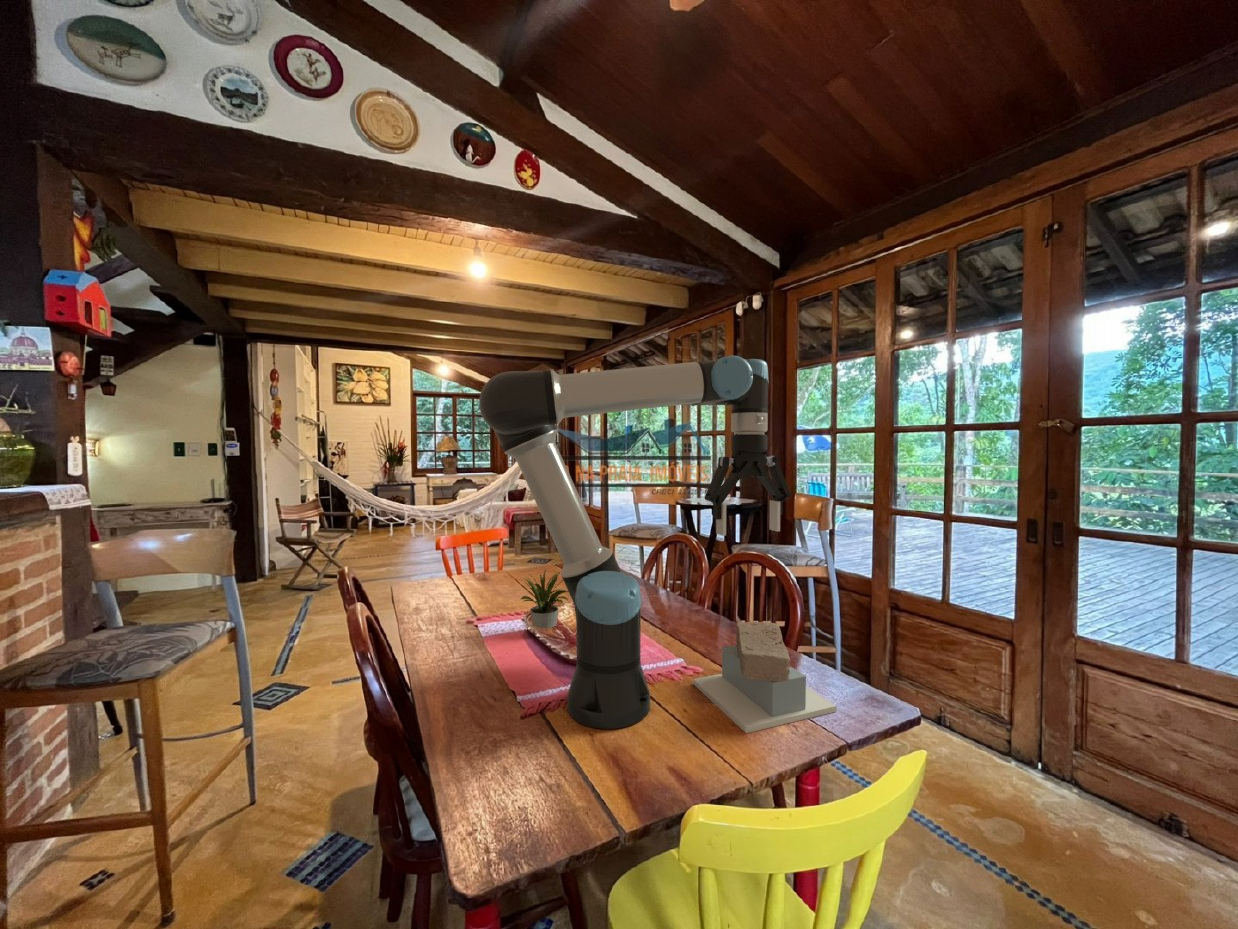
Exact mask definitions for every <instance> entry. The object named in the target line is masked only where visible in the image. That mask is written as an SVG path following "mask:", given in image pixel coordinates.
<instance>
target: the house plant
mask: <svg viewBox="0 0 1238 929" xmlns="http://www.w3.org/2000/svg"><path fill="white" fill-rule="evenodd" d="M546 572H547V568H545V570H544V572H543V575H542V574H541V573H540V574H539V578H540V580H539V581H540V584H539V583H538V582H537V581H536V578H535V577H534V576H532V575H530V574H529V576H530V577H532V579H533V580H534V583H533V581H531V579H530V578H529V577H527V576H525V577H523V579H524V580H525V581H524V583H525V584H526V585H527V586H528V588H527V589H530V591H531V592H532V593H533V595H534V597H535V600H534V599H533V598H532V597H530V596H528V595H524V596H522V597H521V598H520V600H519V601H521V600H523V602H533V603H534V604H535V605H534V606H532V607H531V608H530V610H529V611H530V616H531V617H530V618H531V623H532V627H533V626H536V627H539V628H546V629H547V628H552V627H554V626H556V627H557V624H558V617H559V610H560V609H559V607H558V606H556V605H554V604H556V603H561V604H564V602H563V600H562V599H564V600H565V601H567V602H569V599H568V598H567V597H566V596H563V595H562V596H560V595H561V594H564V593H567V592H568V593H569V591H568V590H566V589H562V588H560V589H557V588H558V586H559V585H561V583H562V582H564V580H563V579H562V580H561V581H559V582H558V583H556V582H557V581H558V577H559V575H561V571H559V572H557V573H556V572H555V574H554V575H552V577H551V578H550V579H549V580H548V582H547V584H546ZM517 580H519V581H521V579H520V578H517ZM553 588H554V589H553Z"/></svg>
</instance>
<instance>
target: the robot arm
mask: <svg viewBox="0 0 1238 929" xmlns="http://www.w3.org/2000/svg"><path fill="white" fill-rule="evenodd" d="M769 383H770V381H769V368H768V363H767V361H765V360H763V359H758V358H757V359H756V358H749V359H744V358H743V357H741V356H738V355H729V356H722V357H720V358H718V359H714V360H703V361H702V360H701V361H692V362H691V361H690V362H682V363H681V362H680V363H670V364H660V365H649V366H647V365H646V366H639V367H631V368H630V367H629V368H619V369H618V368H617V369H606V370H597V371H596V370H595V371H586V372H585V371H584V372H575V373H567V374H559V373H557V372H556V371H555V370H553V369H544V370H543V369H542V370H523V371H522V370H520V371H519V370H517V371H516V370H515V371H513V370H512V371H511V370H510V371H504V372H500V373H498V374H495V375H493V377H491V378H490V379H488V380H487V382H485V384H484V386H483V387H482V389H481V391H480V394H479V400H478V405H479V406H478V407H479V411H480V414H481V417H482V418H483V420H484V422H485V423H486V424H487V425H488V426H489V427H490V428H491V429H492V430H493V431H494V434H495V436H496V438H497V439H498V442H499V444H500V446H501V449H502V451H503V453H504V455H508V456H510V457H512V458H514V459H515V461H516V463H517V465H518V467H519V469H520V472H521V474H522V476H523V478H524V480H525V483H526V484H527V486H528V488H529V491H530V493H531V495H532V498H533V499H534V502H535V504H536V506H537V508H538V511H539V513H540V515H541V517H542V519H543V521H544V523H545V526H546V528H547V530H548V532H549V535H550V536H551V539H552V541H553V543H554V545H555V547H556V550H557V551H558V553H559V556H560V558H561V560H562V562H563V567H562V568H561V571H560V576H561V578H562V580H564V581H563V583H564V585H565V587H566V588H567V591H569V592H568V594H569V596H570V598H571V600H572V602H573V605H574V611H575V613H574V614H575V621H576V622H575V624H576V626H575V628H576V629H575V630H576V667H575V669H574V673H573V676H572V679H571V681H570V682H571V683H570V686H569V688H568V693H567V695H566V696H567V697H566V700H567V702H566V703H567V705H566V707H567V712H568V714H569V716H570V717H571V719H573V720H574V721H576V722H577V723H578V724H581V725H584V726H586V727H590V728H593V729H600V730H601V729H602V730H604V729H605V730H612V729H613V730H614V729H621V728H626V727H629V726H633V725H635V724H637V723H639V722H641V721H642V720H643V719H645V718H646V717H647V716H648V714H649V713H650V711H651V692H650V690H649V687H648V684H647V683H648V682H647V680H646V678H645V674H644V671H643V668H642V663H641V652H642V651H641V650H642V649H641V634H642V633H641V628H642V627H641V624H642V623H641V620H642V619H641V607H642V602H643V601H642V600H643V599H642V595H641V587H640V585H639V582H638V581H637V579H635V578H634V577H633V576H631V575H629V574H625V573H624V572H622V570H621V567H620V565H619V563H618V561H617V559H616V556H615V555H614V552H613V550H612V549H611V548H609V547H605V546H603V545H602V543H601V541H600V539H599V536H598V534H597V532H596V530H595V527H594V526H593V523H592V521H591V519H590V517H589V514H588V512H587V510H586V508H585V505H584V503H583V502H582V498H581V497H580V495H579V492H578V490H577V488H576V485H575V484H574V481H573V479H572V477H571V474H570V473H569V471H568V468H567V466H566V464H565V462H564V459H563V456H562V455H561V453H560V451H559V447H558V446H557V444H556V441H555V440H556V437H557V434H558V431H559V430H558V428H557V426H556V425H559V424H560V423H561V422H562V420H564V419H567V418H573V417H583V416H584V417H585V416H591V415H592V416H593V415H601V414H610V413H618V412H628V411H629V412H630V411H639V410H645V409H647V410H648V409H654V408H664V407H665V408H666V407H673V406H692V407H694V406H726V407H727V406H730V407H731V410H730V414H731V415H730V416H731V417H730V418H731V420H730V421H731V422H730V424H731V425H730V427H731V428H730V432H731V433H733V434H732V436H731V437H730V440H731V441H730V450H731V453H732V455H731V457H729V456H718V459H717V467H716V470H715V472H714V475H713V477H712V479H711V481H710V484H709V485H708V488H707V490H706V492H705V494H704V500H705V501H708V502H710V503H712V508H713V509H712V517H713V519H715V533H716V535H719V536H722V537H724V536H727V504H726V503H724V501H725V500H726V499H727V497H728V496H729V494H731V492H732V491H733V489H734V488H735V487H736V485H737V484H738V482H739V481H740V480H741V479H742V478H757V479H758V480H759V481H760V482H761V485H762V486H763V487H764V488H765V490H766V491H767V492H768V494H769V495H770V497H771V498H772V500H771V499H769V517H768V518H769V520H768V521H769V522H768V523H769V526H768V527H769V531H770V530H771V531H775V532H776V533H777V532H781V516H782V515H783V513H784V512H783V511H784V510H783V509H784V508H783V506H784V502H786V501H787V499H789V498H791V496H792V494H791V491H790V488H789V486H788V483H787V481H786V479H785V477H784V474H783V471H782V468H781V467H780V466H781V465H780V457H779V456H777V455H768V456H767V454H766V453H767V451H768V435H767V434H765V433H767V431H768V430H769V429H768V425H769V424H768V423H769V422H768V415H769V414H768V412H769V410H768V403H769V400H768V399H769V398H768V397H769ZM766 466H767V467H768V470H767V468H766ZM730 467H732V469H731V470H730V471H729V468H730ZM728 471H729V473H728ZM768 471H769V472H768ZM727 474H728V475H727ZM726 476H728V477H727V478H726ZM724 480H725V481H724Z"/></svg>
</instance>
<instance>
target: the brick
mask: <svg viewBox="0 0 1238 929" xmlns="http://www.w3.org/2000/svg"><path fill="white" fill-rule="evenodd" d="M735 641H736V645H737V646H738V648H737V650H738V653H739V659H740V669H741V672H742V675H743V676H744V677H745V678H747V679H753V680H767V681H778V682H783V681H788V680H789V674H790V669H789V668H790V667H791V658H790V654H789V650H788V649H787V647H786V645H785V643H784V640H783V635H782V631H781V628H780V626H779V624H778V623H774V622H768V621H763V622H762V621H759V622H757V621H753V622H751V621H750V622H749V621H746V622H742V621H741V622H740V621H738V622H737V623H736V640H735Z"/></svg>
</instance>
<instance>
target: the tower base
mask: <svg viewBox="0 0 1238 929" xmlns="http://www.w3.org/2000/svg"><path fill="white" fill-rule="evenodd" d="M721 648H722V649H721V673H719V674H713V675H708V676H703V677H697V678H693V679H692V680H693V681H692V684H693V685H694V686H695V687H696V688H697V689H698V690H699V691H700V692H701V693H702V694H703V695H704V696H706V697H707V698H708V699H709V701H711V702H712V703H713V704H714V705H715V706H716V707H717V708H718V709H719V710H720V711H721V712H723V713H724V715H726V716H727V717H728V718H729V719H730V720H731V721H733V723H735V725H737V726H738V727H739V728H740V729H741V730H742V731H743V732H745V734H749V733H753V732H757V731H761V730H765V729H770V728H774V727H777V726H782V725H786V724H790V723H794V722H799V721H803V720H807V719H811V718H814V717H820V716H823V715H827V714H832V713H836V712H837V707H838V706H837V705H836V704H834V703H833V702H831V701H830V700H828V699H826V698H825V697H824V696H822V695H821V694H819V693H817V692H816V691H814V690H813V689H811V688H810V687H808V686H807V676H806V675H805V674H803V673H801V672H800V671H799V670H797V669H795V668H794V667H792V666H790V668H789V669H790V674H789V680H788V681H783V682H778V681H767V680H753V679H747V678H745V677H744V676H743V675H742V672H741V669H740V659H739V653H738V650H737V648H738V646H737V644H733V645H726V646H722V647H721Z"/></svg>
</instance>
